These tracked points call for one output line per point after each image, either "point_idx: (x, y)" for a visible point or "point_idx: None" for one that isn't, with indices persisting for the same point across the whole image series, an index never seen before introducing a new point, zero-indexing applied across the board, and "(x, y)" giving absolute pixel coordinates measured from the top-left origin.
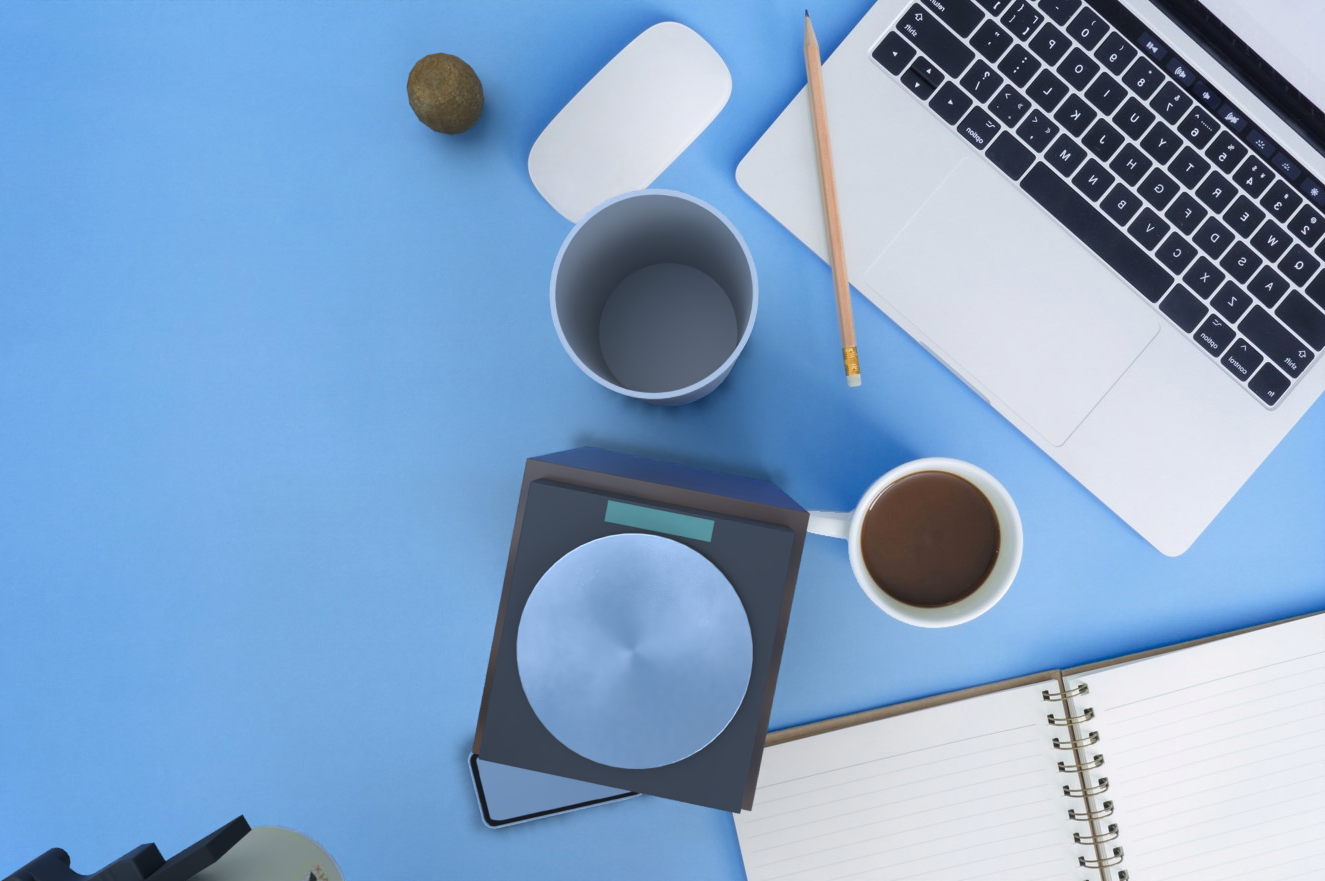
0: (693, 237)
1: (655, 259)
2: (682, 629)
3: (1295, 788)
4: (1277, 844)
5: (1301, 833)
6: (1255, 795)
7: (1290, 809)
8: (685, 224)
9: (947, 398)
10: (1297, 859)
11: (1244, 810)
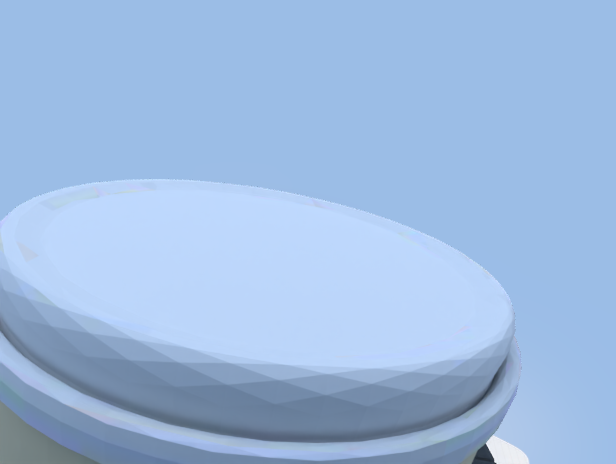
0: None
1: None
2: None
3: (489, 438)
4: (515, 457)
5: (511, 447)
6: (490, 450)
7: (498, 444)
8: None
9: None
10: (524, 455)
11: (497, 457)
